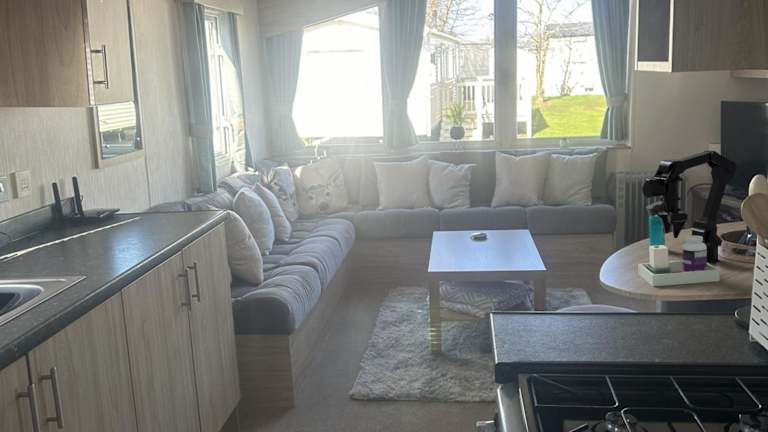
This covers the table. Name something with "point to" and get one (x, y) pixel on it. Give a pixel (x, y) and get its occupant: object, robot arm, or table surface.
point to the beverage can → (656, 231)
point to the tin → (658, 269)
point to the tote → (678, 275)
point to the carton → (658, 256)
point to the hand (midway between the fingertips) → (671, 235)
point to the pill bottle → (694, 254)
